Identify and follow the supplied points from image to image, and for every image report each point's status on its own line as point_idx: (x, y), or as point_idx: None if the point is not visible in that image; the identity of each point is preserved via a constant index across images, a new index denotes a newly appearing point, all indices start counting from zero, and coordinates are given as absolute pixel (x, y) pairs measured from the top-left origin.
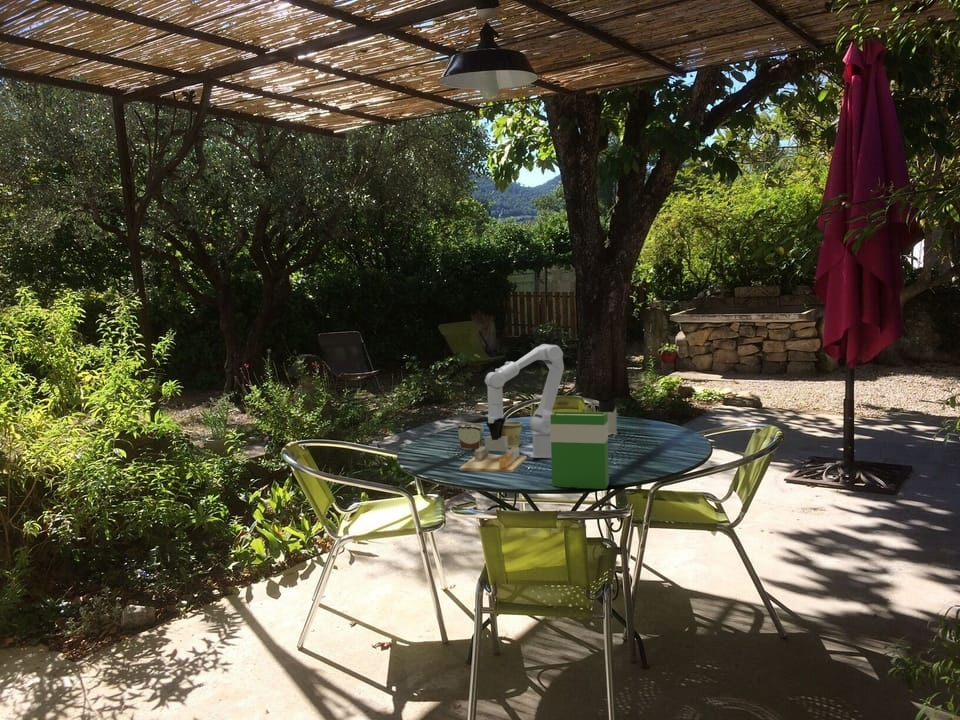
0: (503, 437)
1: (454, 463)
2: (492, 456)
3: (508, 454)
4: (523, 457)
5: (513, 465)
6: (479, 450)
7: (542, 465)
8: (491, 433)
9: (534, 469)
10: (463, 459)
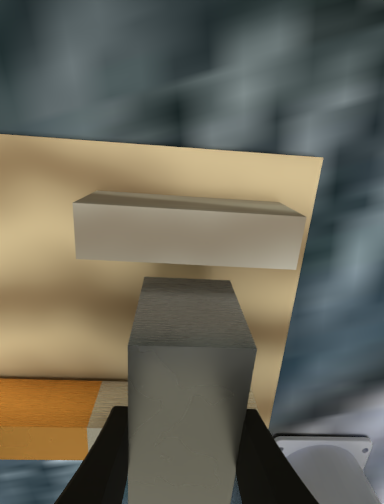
0: (164, 499)
1: (93, 15)
2: (255, 273)
3: (26, 450)
4: None
5: None
6: (124, 236)
7: (126, 495)
8: (83, 477)
9: (44, 482)
10: (238, 60)
